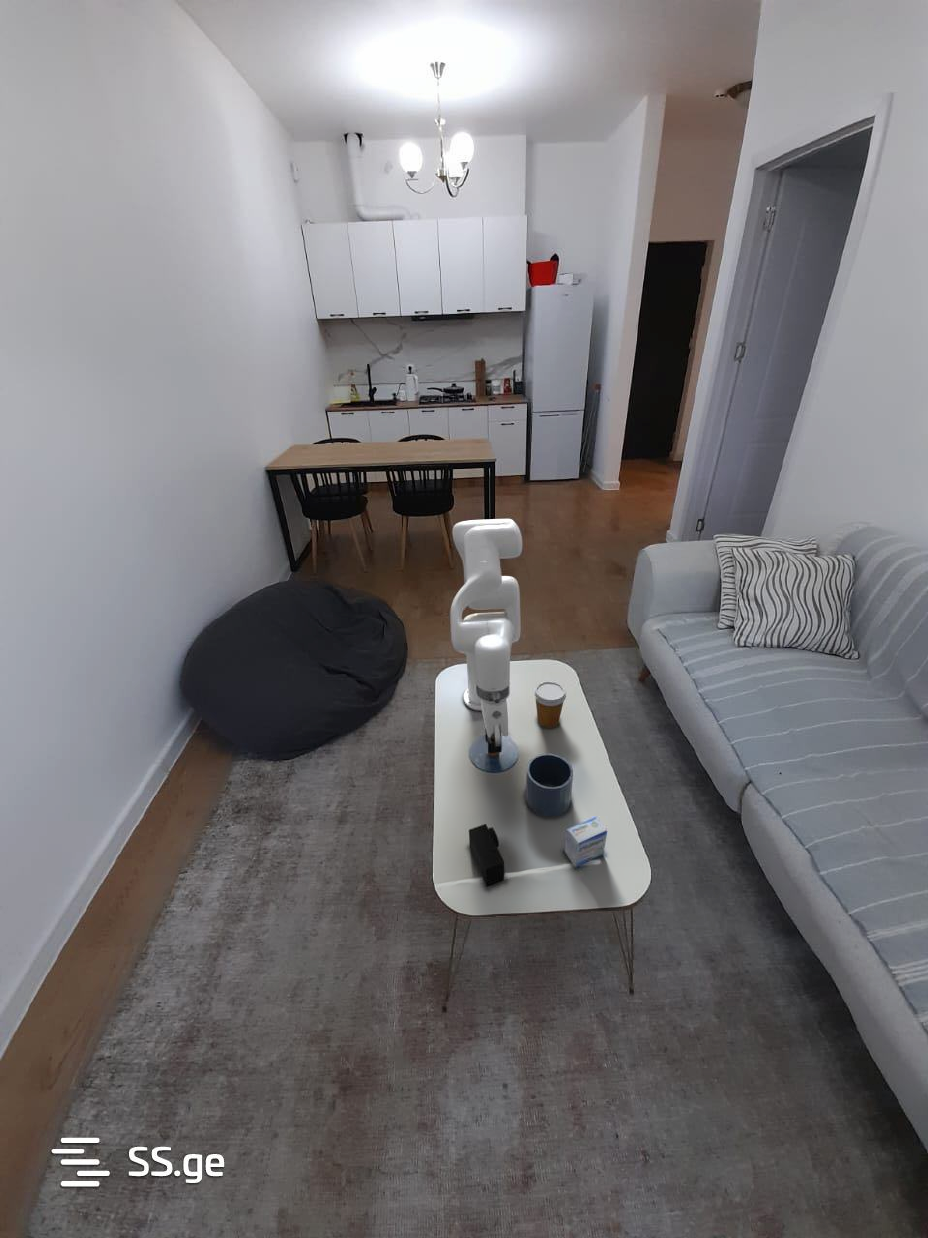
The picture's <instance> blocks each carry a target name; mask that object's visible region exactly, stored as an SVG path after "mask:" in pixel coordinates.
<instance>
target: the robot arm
mask: <svg viewBox="0 0 928 1238" xmlns="http://www.w3.org/2000/svg"><path fill="white" fill-rule="evenodd" d="M452 540H453V543H454V545H455V548H456V550H457V552H458V554H459V556H460V558H461V560H462V565H463V566H462V567H463V580H464V581H463V583H464V584H463V586H461V588H460V589H459V590H458V592H457V593H455V594H456V595H455V596H454V598H453V600H452V602H451V606H450V611H449V619H450V621H449V622H450V623H449V624H450V639H451V644H452V647H453V648H454V650H455V651H456V652H458V653H460V654H465V655H466V657H465V658H466V676H467V677H466V678H467V688H466V690H465V691H464V693H463V702H464V704H465V705H466V706H467V707H468V708H470V709H472V710H475V711H480V712H481V714H482V718H483V723H484V727H485V729H484V731H485V732H484V733H485V734H484V735H485V737H486V742H488V753H497V752H501V751H502V739H501V735H503V736H506V737H508V736H509V734H510V733H509V714H508V713H509V712H508V702H507V699H508V698H509V696H510V693H511V692H510V691H511V652H512V647H513V643H516V642H518V641H519V640H520V638H521V633H522V625H521V624H522V623H521V621H522V620H521V617H522V616H521V591H520V586H519V583H518V580H517V579H516V578H515V577H513V576H511V575H503V574H502V568H501V560H502V559H515V558H518V557H520V556H521V554H522V551H523V537H522V531H521V530H520V527H519V525H518V524H517V523H516V522H515V521H514V520H513V519H512V518H493V519H472V520H471V519H470V520H464V521H463V520H462V521H459V522H457V523H455V524H454V525H453V527H452ZM500 559H501V560H500ZM467 607H468V608H469V609H471V610H475V611H483V610H485V611H486V610H504V611H497V612H492V611H491V612H478V613H471V614H469V615H466V616H465V617H464V618H463V612H464V610H465V609H466V608H467ZM487 735H488V736H487ZM492 735H494V738H492ZM488 737H489V740H488Z"/></svg>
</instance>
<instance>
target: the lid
mask: <svg viewBox="0 0 928 1238" xmlns="http://www.w3.org/2000/svg"><path fill="white" fill-rule="evenodd" d="M487 736H488V735H487ZM492 738H494V735H492ZM501 739H502V751H501V752H497V753H488V742H486V737H485V734H483V735H481V736H478V737H477V738H476V739H474V740H473V741H472V742H471V744H469V748H468V759H469V761H470V763H471V764H472V765H473V766H474V767H475V768H476V769H477V770H480V771H481V772H484V773H488V774H500V773H504V772H507V771H509V770H511V769H512V768H513V767H514V766H515V765H516V764H517V762H518V760H519V757H520V751H519V748H518V745H517V744H516V742H515V741H514V740H513V739H512V738H510V737H508V736H503V734H501ZM488 740H489V737H488Z"/></svg>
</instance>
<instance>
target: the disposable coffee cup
mask: <svg viewBox="0 0 928 1238" xmlns="http://www.w3.org/2000/svg"><path fill="white" fill-rule="evenodd" d="M533 696H534V699H535V707H536V716H537V717H536V718H537V722H538V724H539V725H540V726H541V727H543V728H546V729H553V728H555V727H557V726H558V725H559V721H560V717H561V713H562V709H563V706H564V702H565V700H566V698H567V692H566V689H565V688H564V687H563V685H562V684H560V683H559V682H555V681H552V680H551V681H549V680H547V681H542V682H540V683H537V685H536V686H535V689H534V690H533Z"/></svg>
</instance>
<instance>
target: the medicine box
mask: <svg viewBox="0 0 928 1238" xmlns="http://www.w3.org/2000/svg"><path fill="white" fill-rule="evenodd" d="M565 834H566V835H565V846H564V853H565V854H566V856H567V857H568V859H569V860H570V861H571V864H572V865H573V866H574V867H575V868H578V867H580V866H582V865H584V864H586V863H587V862H590V861H592V860H593V859H595V858H597V857H601V856H603V855H604V853H605V847H606V842H607V836H608V830H607V829H606V827H605V826H604V825H603V824H602V822H601V821H600V820H599V818H598V817H597V816H594V817H592V818H589V819H587V820H585V821H582V822H580V823H578V824H576V825H573V826H571V827H569V828H567V829H566V833H565Z"/></svg>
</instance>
